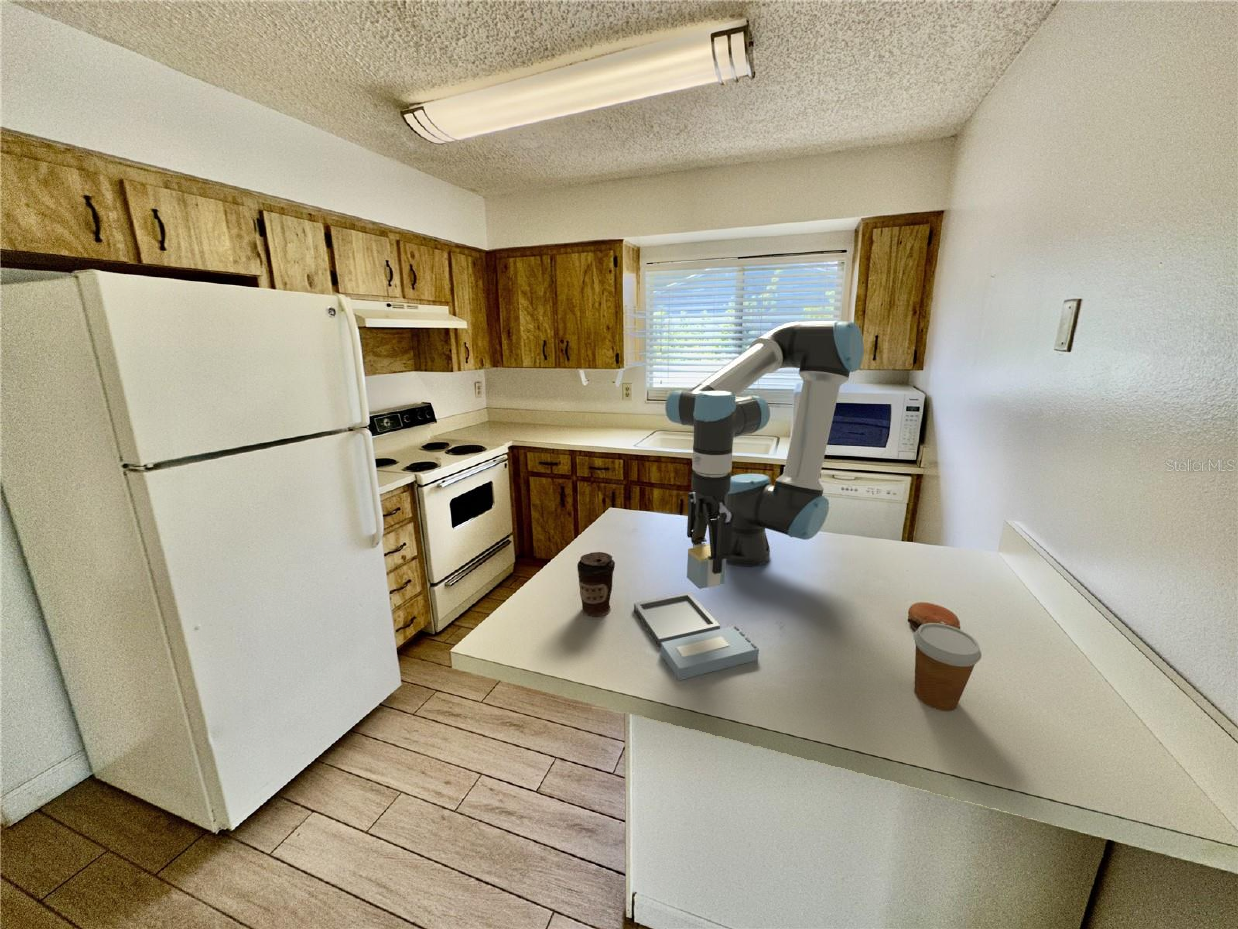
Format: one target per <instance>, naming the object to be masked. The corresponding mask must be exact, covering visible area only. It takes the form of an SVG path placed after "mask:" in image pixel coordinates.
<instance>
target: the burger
mask: <svg viewBox="0 0 1238 929" xmlns="http://www.w3.org/2000/svg"><path fill="white" fill-rule="evenodd" d="M907 614H908V616H907V622H908V624H909V625H910V626H911V627H912V628H913V629H914V630H915V631H916V630H918V628H919V627H920V626H921V625H923V624H926V623H940V624H945V625H949V626H952V627H955V628H957V629H960V630H961V622H960V620H959V617H958V616H957V614H955V613H954V612H953V611H951V610H950V609H947V608H946V607H943V606H941V605H938V604H936V603H931V602H925V601H924V602H916V603H913V604H911V606H909V608H908V610H907Z"/></svg>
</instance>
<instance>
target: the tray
mask: <svg viewBox="0 0 1238 929" xmlns="http://www.w3.org/2000/svg"><path fill="white" fill-rule="evenodd" d="M633 611H634V613H635V614H636V615H637V617H638V618H639V620H640V622H642V624H643V626H644V627H645V629H646V630H647V632H648V633H649V634H650V636H651V638H652V639H653V640H654V642H655V643H656V645H657V646H658V647H660V648H661V642H666V641H670V640H674V639H679V638H683V637H687V636H692V635H696V634H700V633H705V632H709V631H713V630H718V629H721V624H720V623H719V622H718V621H717V620H716V619H715V618H714V617H713V616H712V614H710V613H709V612H708V610H707V609H705V607H704V606H703V605H702V603H700V602H699V601H698V600H697V599H696V598H695V597H694V596H693V594H692V593H691V592H690V591H687V592H682V593H678V594H673V595H669V596H663V597H658V598H657V597H656V598H652V599H648V600H642V601H638V602H637V601H636V602H634V603H633Z"/></svg>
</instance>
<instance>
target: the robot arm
mask: <svg viewBox="0 0 1238 929" xmlns="http://www.w3.org/2000/svg"><path fill="white" fill-rule="evenodd" d="M748 347H749V348H748V349H747V350H746V351H744V352H743V353H741V354H740V355H738V356H737V357H735V358H733V360H732V361H730V362H728V363H727V364H726V365H724V366H723V367H721V368H720V369H718V370H717V371H715V372H714V373H713V374H711V375H710V376H708V377H707V378H706V379H704V380H703V381H701V382H700V383H699V384H697V385H695V386H694V387H692V388H691V389H689V390H685V389H681V390H680V389H679V390H674V391H672V392H671V393H670V394H669V395H668V397H667V399H666V402H665V410H664V411H665V414H666V417H667V419H668V420H669V421H670V422H672V423H675V424H678V425H682V426H687V427H688V426H689V427H693V444H692V445H693V446H692V457H691V461H692V467H691V468H692V470H693V471H692V473H691V485H690V488H691V490H692V492H687V495H686V496H687V502H688V505H687V507H688V508H687V523H686V524H687V527H686V537H687V538H690V541H691V544H692V548H695V547H701V546H706V545H707V544H706V543H705V542H707V541H708V540H709V545H710V551H711V556H708V572H707V587H706V588H709V589H710V588H714V587H717V586H721V584H720V578H721V572H722V560H723V559H726V564H727V563H728V564H731V565H734V566H735V565H736V566H740V567H741V566H742V567H755V566H761V565H764V564H765V563H767V562H768V561H769V560H770V557H771V555H770V553H771V548H770V545H769V540H768V537H767V533H766V529H767V530H771V531H774V532H776V533H780V534H783V535H786V536H788V537H790V538H797V539H799V540H804V541H807V540H809V539H810V540H811V539H813V538H814V537H815V536H816V535H817V534H818V533H819V532H820V531H821V529H822V528H823V526H824V524H825V521H826V519H827V516H828V513H829V510H830V507H829V506H830V505H829V504H830V502H829V499H828V498H827V497H825V495H823V494H824V490H825V489H824V487H823V486H822V484H821V482H820V477H821V473H822V468H823V464H824V459H825V455H826V451H827V446H828V443H829V442H828V441H829V436H830V433H831V428H832V424H833V419H834V414H835V412H836V405H837V401H838V396H839V394H840V387H841V386H842V385H843V384H844V383H846V382H847V381H849V377H850V373H854V372H857V371H858V370H859V369H860V368H861V365H862V362H863V359H864V352H865V351H864V348H865V346H864V338H863V333H862V331H861V328H860V327H859V324H857V323H855V322H852V321H844V320H843V321H841V320H838V319H837V320H831V321H829V320H828V321H827V320H826V321H825V320H824V321H823V320H822V321H821V320H820V321H793V322H788V323H785V324H783V325H779V326H778V327H776V328H773V329H771V330H769V331H767V332H765V333H763V334H761V335H760V336H758V337H757V338H756V339H755V340H753V341H751V343H750V345H749V346H748ZM786 368H791V369H792V368H793V369H798V375H799V377H800V378H801V380H802V385H801V390H800V395H799V400H798V403H797V404H798V405H797V409H796V414H795V419H794V422H793V428H792V433H791V438H790V441H789V446H788V451H787V455H786V460H785V465H784V469H783V473H782V474H781V475H780V476H779V477H777V478H776V479H775V482H774V484H771V479H770V477H769V476H768V475H766V474H762V473H740V474H736V475H731V471H732V468H733V466H732V465H733V447H734V446H733V445H734V438H736V437H740V436H745V435H748V434H749V435H750V434H754V433H756V432H758V431H760V430H762V429H764V428H765V427H766V426H767V424H768V423H769V422H770V418H771V410H770V407H769V405H768V403H767V402H766V400H765V399H764V398H762V397H761V396H757V395H745V396H739V395H740V394H742V393H743V392H744V391H746V389H748V388H749V387H750V386H752V385H753V384H754V383H755V382H757V381H758V380H760V379H761V378H762V377H764V376H765V375H766V374H772V373H775V372H777V371H778V370H779V369H786ZM707 528H708V530H707ZM707 531H708V540H707V539H706V533H707Z"/></svg>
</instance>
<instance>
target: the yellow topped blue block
mask: <svg viewBox="0 0 1238 929" xmlns="http://www.w3.org/2000/svg"><path fill="white" fill-rule="evenodd" d="M708 556H711V551H710V544H706V546H701V547H695V548H693V547H692V548H688V549H687V563H686V564H687V566H686V578H687V579H688V580H689V581H690V582H691V583H692V584H693V585H694V586H696V588H698V589H699V590H701V589H706V588H708V587H707V572H708ZM726 569H727V562H726V559H723V560H722V572H721V578H720V585H723V584H726V583H725V582H726Z"/></svg>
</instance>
